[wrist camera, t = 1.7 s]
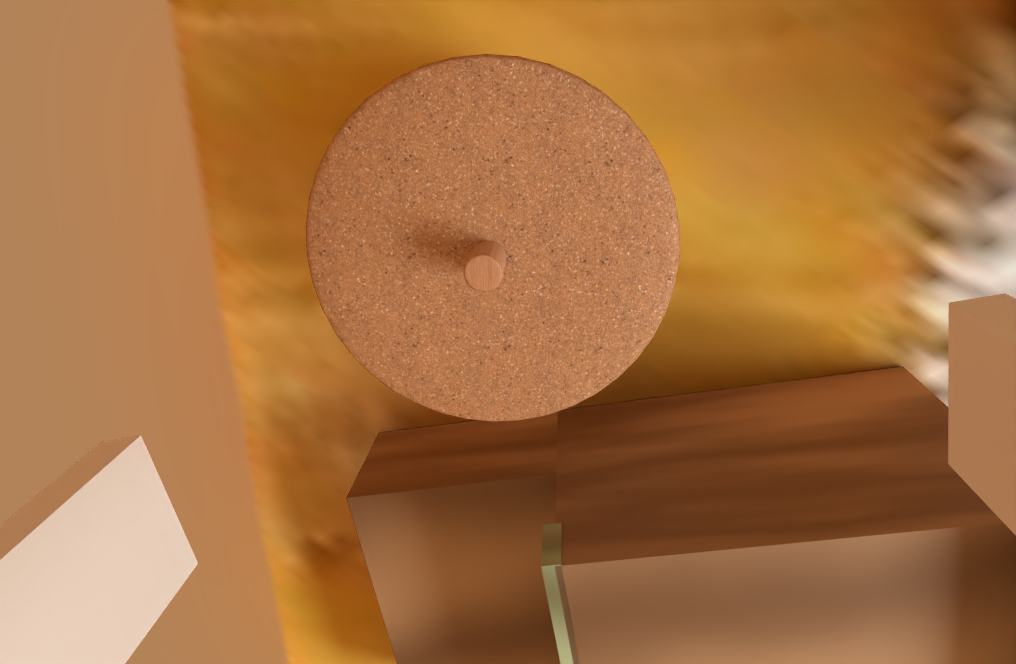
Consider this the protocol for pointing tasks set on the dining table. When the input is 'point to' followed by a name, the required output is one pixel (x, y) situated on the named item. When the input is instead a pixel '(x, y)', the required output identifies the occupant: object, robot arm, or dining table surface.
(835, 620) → the stepped stand
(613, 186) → the lidded jar
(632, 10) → the dining table surface
